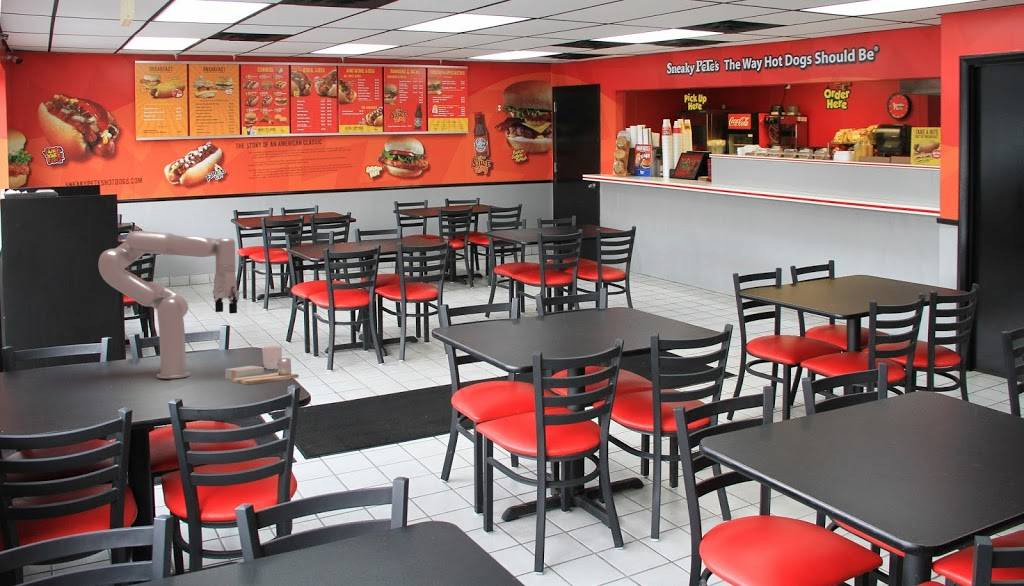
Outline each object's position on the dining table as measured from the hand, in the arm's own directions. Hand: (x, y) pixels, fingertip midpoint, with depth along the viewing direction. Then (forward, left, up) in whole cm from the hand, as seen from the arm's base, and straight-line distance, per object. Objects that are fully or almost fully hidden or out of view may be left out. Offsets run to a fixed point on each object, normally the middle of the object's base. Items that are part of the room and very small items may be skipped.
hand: (226, 312), depth 388 cm
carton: (+11, 0, -25) cm, 28 cm away
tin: (+24, +10, -24) cm, 35 cm away
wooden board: (+22, +2, -25) cm, 34 cm away
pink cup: (+4, +18, -25) cm, 32 cm away
